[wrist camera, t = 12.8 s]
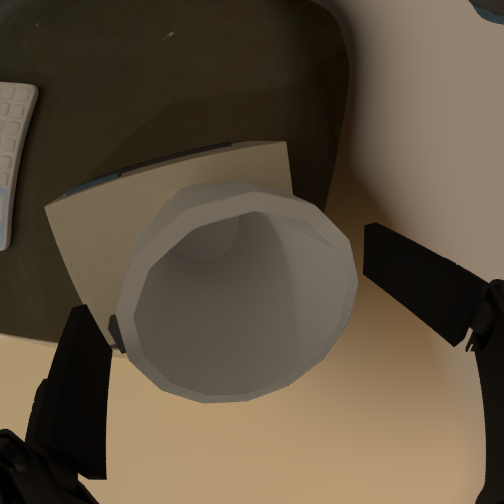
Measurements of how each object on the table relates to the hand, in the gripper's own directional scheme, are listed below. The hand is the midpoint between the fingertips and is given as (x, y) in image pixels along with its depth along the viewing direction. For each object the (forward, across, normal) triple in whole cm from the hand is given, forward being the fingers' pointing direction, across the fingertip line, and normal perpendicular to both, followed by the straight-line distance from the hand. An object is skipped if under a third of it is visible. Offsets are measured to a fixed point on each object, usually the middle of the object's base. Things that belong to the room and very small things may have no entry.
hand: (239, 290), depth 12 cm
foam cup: (+11, 0, 0) cm, 11 cm away
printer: (+21, -2, -2) cm, 21 cm away
